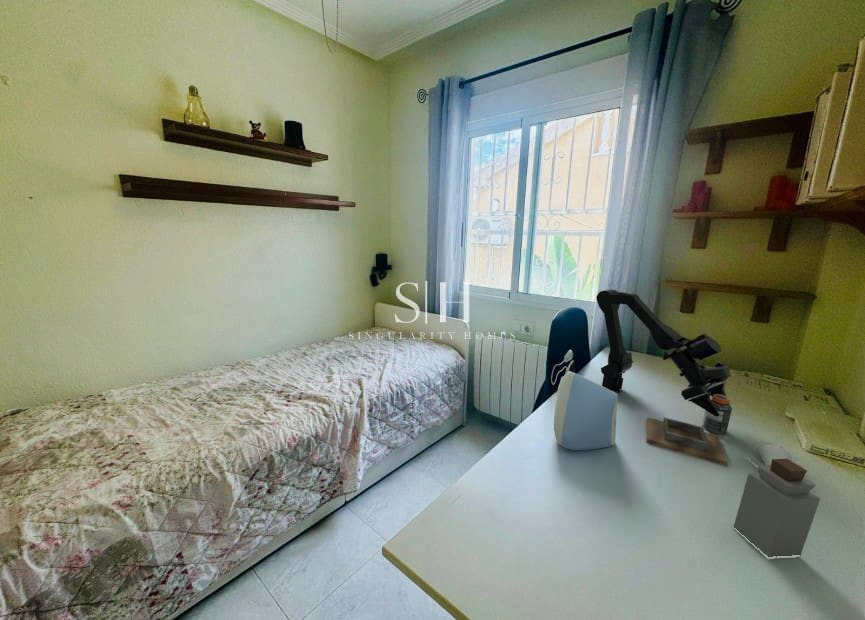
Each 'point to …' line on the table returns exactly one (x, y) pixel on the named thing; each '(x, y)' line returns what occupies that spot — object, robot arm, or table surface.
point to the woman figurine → (771, 454)
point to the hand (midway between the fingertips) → (723, 411)
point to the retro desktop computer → (583, 411)
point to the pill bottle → (721, 421)
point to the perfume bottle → (777, 508)
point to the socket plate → (685, 439)
